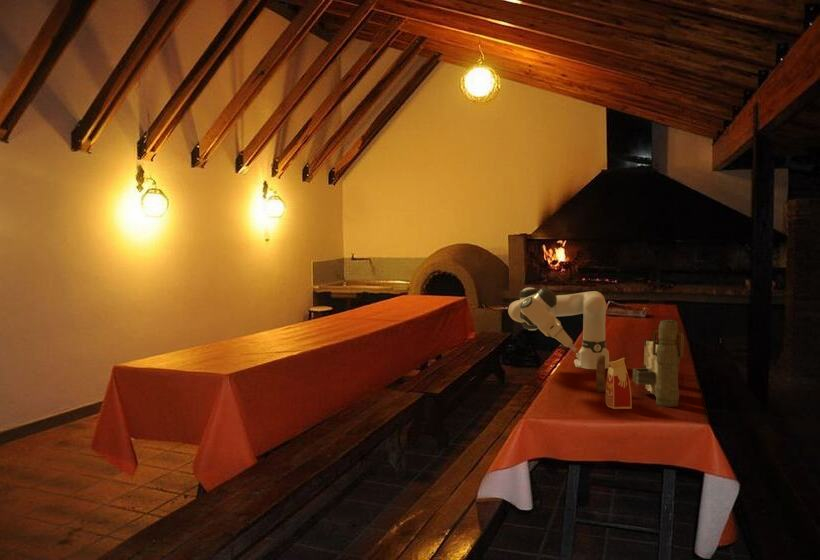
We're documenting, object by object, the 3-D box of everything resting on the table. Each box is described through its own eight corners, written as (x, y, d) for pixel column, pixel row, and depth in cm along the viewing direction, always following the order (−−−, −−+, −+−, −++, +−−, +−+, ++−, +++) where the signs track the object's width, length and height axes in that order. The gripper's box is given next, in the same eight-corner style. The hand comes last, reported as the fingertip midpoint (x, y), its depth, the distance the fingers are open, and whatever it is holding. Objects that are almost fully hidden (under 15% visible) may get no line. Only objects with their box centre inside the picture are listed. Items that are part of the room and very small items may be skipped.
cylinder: (595, 390, 289) (595, 355, 287) (603, 389, 289) (603, 354, 287) (597, 392, 285) (597, 356, 284) (605, 392, 285) (606, 356, 284)
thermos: (681, 408, 258) (683, 322, 255) (650, 404, 264) (651, 320, 261) (684, 403, 266) (685, 319, 263) (654, 399, 272) (655, 317, 269)
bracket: (628, 389, 289) (629, 341, 287) (648, 388, 289) (648, 340, 287) (642, 399, 273) (642, 348, 271) (662, 398, 273) (663, 347, 271)
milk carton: (624, 402, 269) (624, 355, 267) (632, 408, 259) (633, 360, 258) (602, 403, 268) (603, 355, 267) (610, 409, 259) (610, 360, 257)
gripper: (540, 327, 295) (561, 348, 296) (550, 335, 274) (573, 358, 275) (550, 318, 294) (571, 338, 295) (561, 325, 274) (583, 347, 275)
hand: (572, 348), depth 285 cm, fingers open, 8 cm apart
